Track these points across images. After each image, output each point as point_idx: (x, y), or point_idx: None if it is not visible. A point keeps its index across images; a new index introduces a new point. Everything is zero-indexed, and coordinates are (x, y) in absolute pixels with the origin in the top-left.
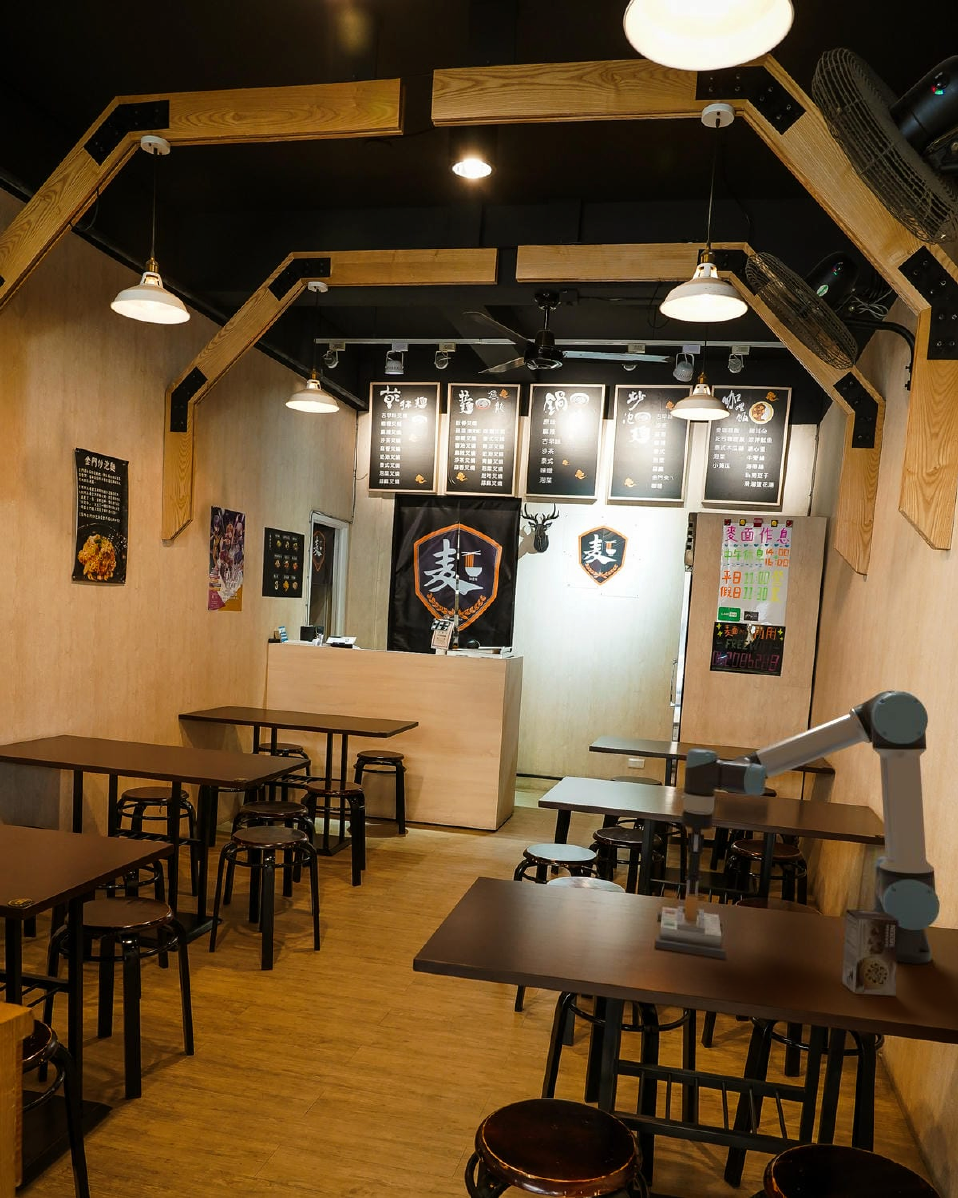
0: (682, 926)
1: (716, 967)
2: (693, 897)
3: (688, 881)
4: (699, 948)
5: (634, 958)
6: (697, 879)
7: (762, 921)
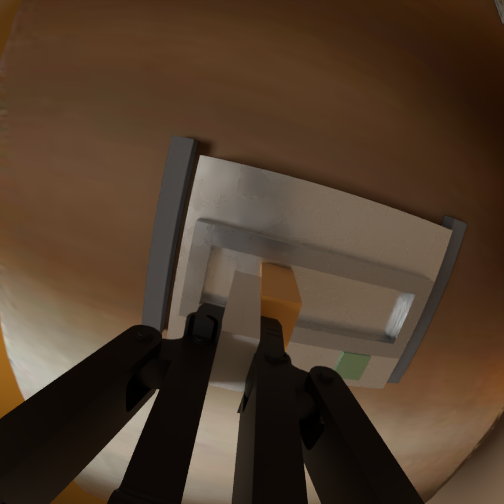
0: (405, 343)
1: (492, 260)
2: (294, 324)
3: (244, 381)
4: (444, 288)
5: (437, 404)
6: (335, 377)
7: (89, 13)
